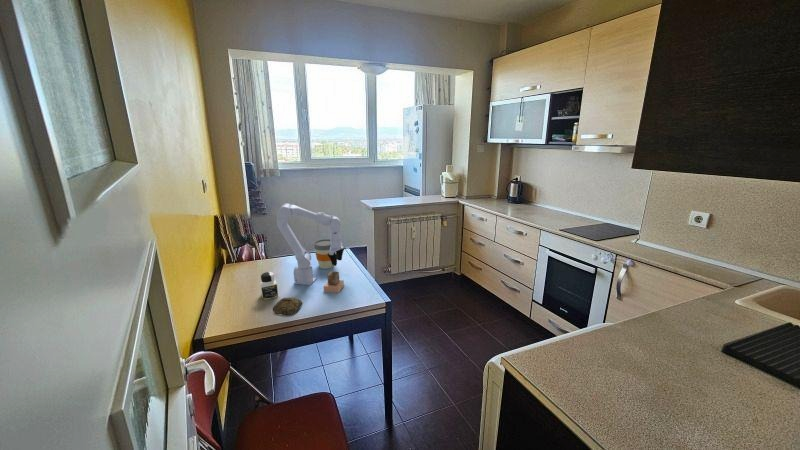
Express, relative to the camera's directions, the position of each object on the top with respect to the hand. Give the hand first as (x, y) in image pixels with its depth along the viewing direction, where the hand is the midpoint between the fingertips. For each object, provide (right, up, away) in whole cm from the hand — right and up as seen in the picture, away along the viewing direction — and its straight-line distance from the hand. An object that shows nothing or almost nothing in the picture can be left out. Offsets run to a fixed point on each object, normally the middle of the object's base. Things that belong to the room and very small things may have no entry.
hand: (337, 262), depth 181 cm
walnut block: (0, -10, -9) cm, 13 cm away
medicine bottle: (-31, -15, -15) cm, 38 cm away
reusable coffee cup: (-11, -4, +21) cm, 24 cm away
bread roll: (-18, -19, -27) cm, 37 cm away
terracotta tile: (0, -13, -8) cm, 15 cm away
